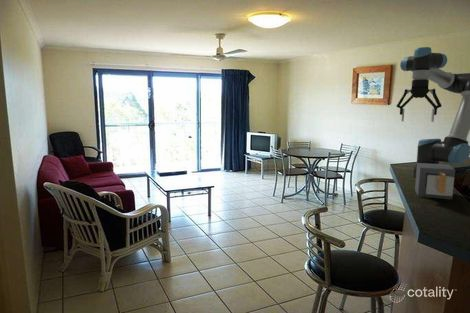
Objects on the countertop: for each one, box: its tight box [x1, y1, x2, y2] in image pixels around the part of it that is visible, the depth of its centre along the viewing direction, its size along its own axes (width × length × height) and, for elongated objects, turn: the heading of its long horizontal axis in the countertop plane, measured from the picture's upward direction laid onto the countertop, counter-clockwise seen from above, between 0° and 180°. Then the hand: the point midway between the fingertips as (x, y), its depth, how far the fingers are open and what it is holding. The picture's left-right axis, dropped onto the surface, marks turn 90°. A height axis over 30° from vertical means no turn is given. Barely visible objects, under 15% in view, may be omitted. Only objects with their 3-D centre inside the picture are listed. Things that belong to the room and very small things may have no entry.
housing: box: [414, 162, 456, 200], centre depth 163 cm, size 14×14×14 cm
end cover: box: [426, 172, 455, 196], centre depth 151 cm, size 19×10×10 cm, turn 158°
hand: (417, 121), depth 174 cm, fingers open, 13 cm apart
